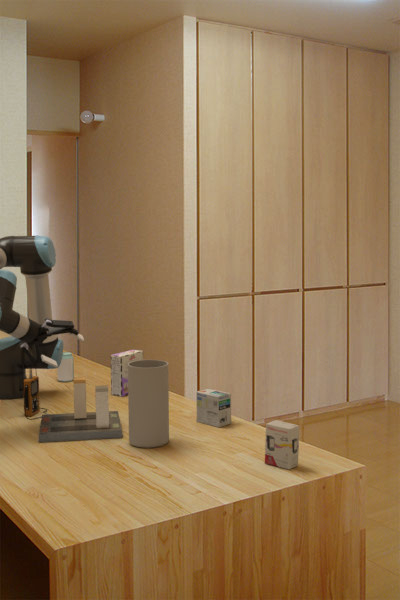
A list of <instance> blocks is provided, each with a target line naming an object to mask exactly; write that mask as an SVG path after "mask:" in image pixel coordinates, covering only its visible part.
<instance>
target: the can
mask: <svg viewBox="0 0 400 600" xmlns="http://www.w3.org/2000/svg"><path fill="white" fill-rule="evenodd" d="M56 369H57V370H56V371H57V372H56V373H57V375H56V376H57V379H56V380H57V381H58V382H61V383H68V382H69V383H70V382H72V381H74V378H75V371H74V356H73V353H72V352H70V351H69V352H66V351H65V352H64V351H63V356H62V360H61V364H60V366H59V367H58V368H56Z"/></svg>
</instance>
